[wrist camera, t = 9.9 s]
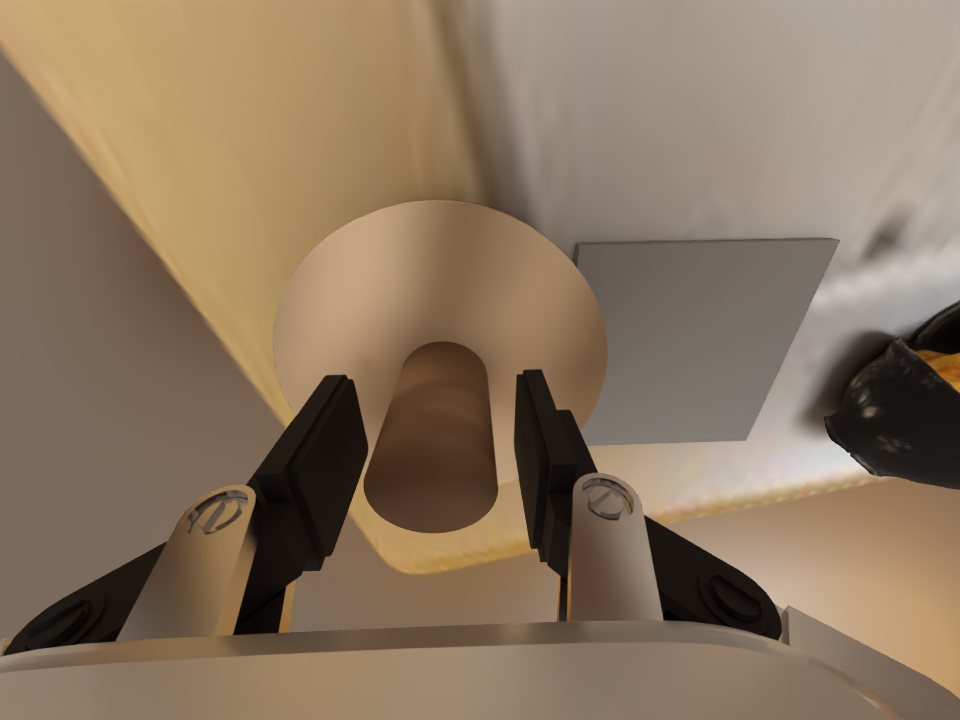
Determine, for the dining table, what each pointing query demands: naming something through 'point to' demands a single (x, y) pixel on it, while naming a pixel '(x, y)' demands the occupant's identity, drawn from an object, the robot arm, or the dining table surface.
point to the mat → (695, 332)
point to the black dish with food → (907, 408)
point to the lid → (439, 348)
